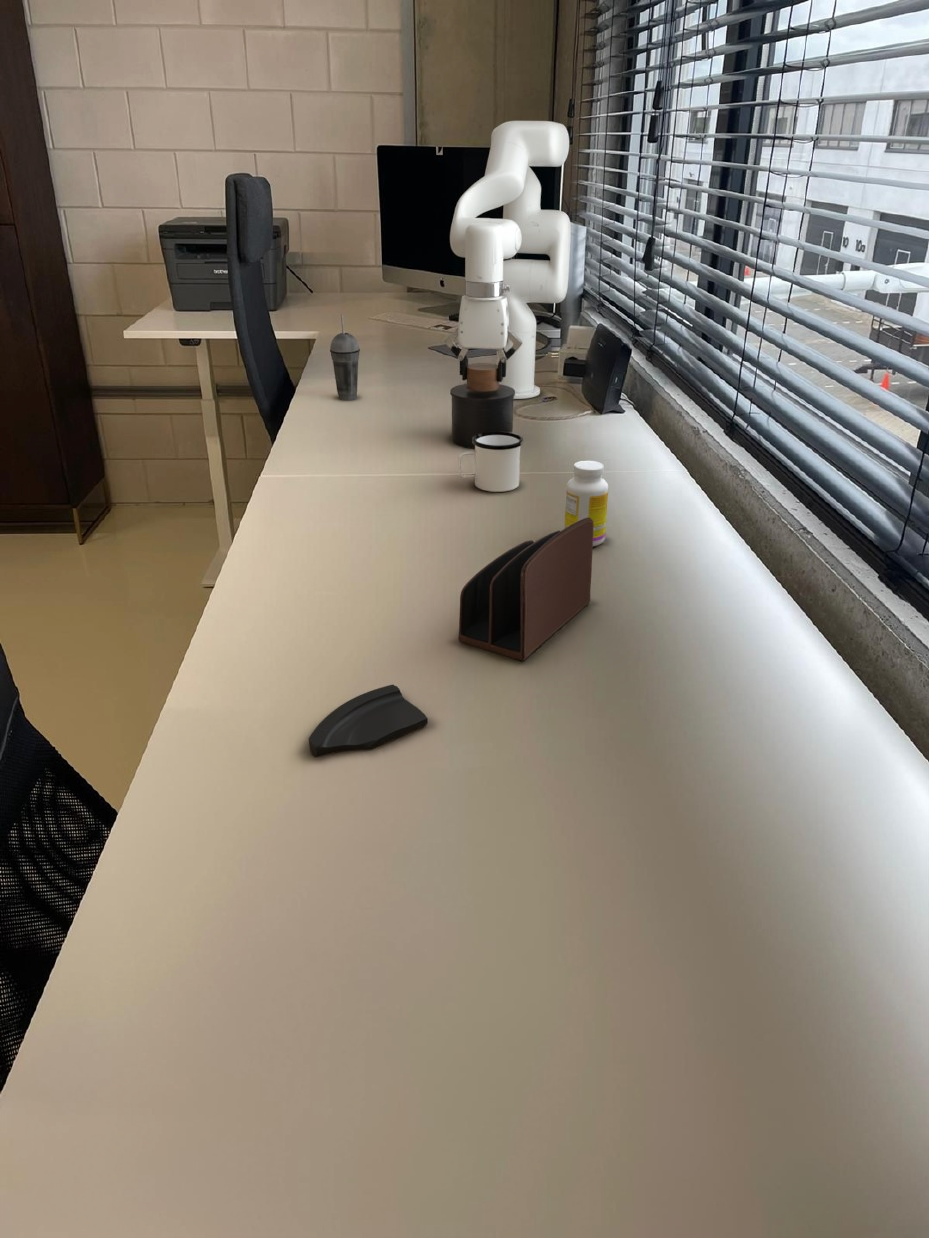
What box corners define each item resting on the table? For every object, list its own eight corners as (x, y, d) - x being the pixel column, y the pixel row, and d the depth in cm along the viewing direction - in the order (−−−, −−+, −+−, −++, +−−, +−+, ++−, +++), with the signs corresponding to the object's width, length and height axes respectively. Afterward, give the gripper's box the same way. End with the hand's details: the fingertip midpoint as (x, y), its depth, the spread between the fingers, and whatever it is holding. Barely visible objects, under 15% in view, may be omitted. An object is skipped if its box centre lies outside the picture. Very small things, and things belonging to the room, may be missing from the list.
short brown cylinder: (469, 382, 201) (469, 362, 199) (501, 384, 200) (501, 363, 198) (463, 390, 195) (463, 369, 193) (496, 392, 194) (496, 370, 192)
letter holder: (590, 603, 135) (597, 510, 128) (523, 663, 120) (527, 561, 113) (529, 586, 139) (532, 496, 133) (457, 642, 124) (457, 544, 118)
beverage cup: (365, 394, 236) (361, 311, 227) (359, 402, 230) (355, 317, 220) (336, 393, 237) (331, 311, 227) (329, 401, 230) (324, 316, 221)
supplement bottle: (608, 535, 157) (614, 460, 151) (600, 550, 151) (606, 473, 145) (568, 530, 158) (573, 456, 152) (559, 545, 153) (563, 469, 147)
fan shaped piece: (289, 731, 106) (288, 719, 106) (392, 694, 113) (392, 682, 112) (324, 767, 100) (323, 755, 100) (431, 726, 107) (431, 714, 106)
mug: (515, 475, 183) (516, 429, 179) (527, 492, 175) (529, 444, 170) (454, 479, 181) (454, 433, 176) (464, 496, 172) (464, 448, 168)
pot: (456, 429, 210) (456, 381, 205) (517, 432, 208) (518, 384, 203) (444, 447, 198) (444, 397, 193) (509, 451, 196) (510, 400, 191)
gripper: (529, 288, 190) (526, 377, 199) (444, 286, 193) (445, 373, 201) (525, 294, 184) (522, 386, 192) (437, 291, 187) (438, 382, 195)
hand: (482, 379), depth 197 cm, fingers closed on short brown cylinder, 6 cm apart
